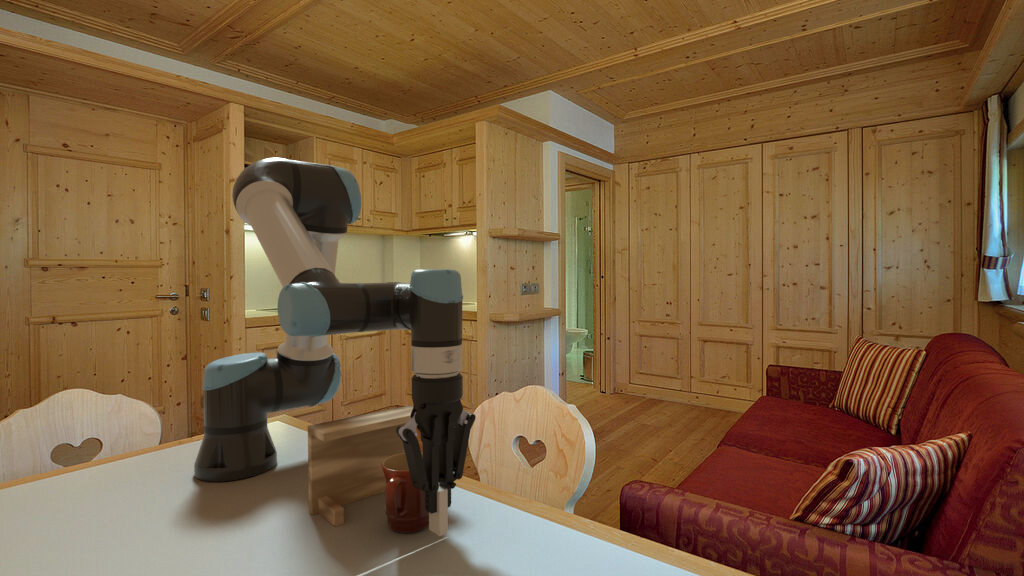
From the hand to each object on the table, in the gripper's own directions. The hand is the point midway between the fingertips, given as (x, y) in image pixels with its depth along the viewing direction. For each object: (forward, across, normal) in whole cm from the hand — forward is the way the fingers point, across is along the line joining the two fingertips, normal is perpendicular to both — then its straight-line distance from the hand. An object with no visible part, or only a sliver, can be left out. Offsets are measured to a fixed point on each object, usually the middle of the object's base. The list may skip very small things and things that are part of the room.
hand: (438, 530), depth 76 cm
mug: (+2, -1, +7) cm, 7 cm away
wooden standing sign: (+2, 0, +23) cm, 23 cm away
